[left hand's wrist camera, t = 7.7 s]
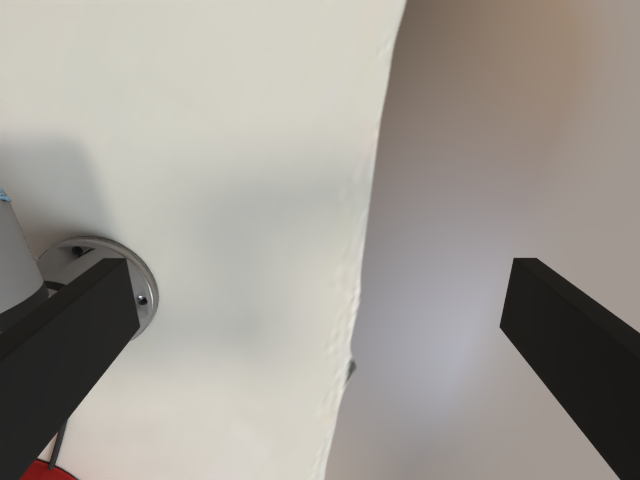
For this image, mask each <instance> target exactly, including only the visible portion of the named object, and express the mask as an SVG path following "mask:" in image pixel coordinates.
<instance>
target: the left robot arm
mask: <svg viewBox="0 0 640 480" xmlns="http://www.w3.org/2000/svg"><path fill="white" fill-rule="evenodd" d="M10 202H11V199H10V197H9V196H8V195H6V194H5V193H4V191H3V189H2V187H1V185H0V480H20V479H21V477H22V476H23V475H24V474H25V472H26V471H27V470H28V469H29V467H30V466H31V465H32V463H33V462H34V461H35V460H36V458H37V457H38V456H39V455H40V453H41V452H42V451H43V450H44V448H45V447H46V446H47V445H48V443H49V442H50V441H51V439H52V438H53V437H54V436H55V434H56V433H57V432H58V434H57V438H56V442H55V446H54V449H53V453H52V456H51V460H50V463H49V466H48V469H49V470H52V469H53V468H54V466H55V463H56V460H57V456H58V453H59V450H60V446H61V443H62V439H63V435H64V431H65V427H66V423H67V419H68V418H69V417H70V415H71V414H72V413H73V412H74V410H75V409H76V408H77V407H78V405H79V404H80V403H81V402H82V400H83V399H84V398H85V397H86V395H87V394H88V393H89V391H90V390H91V389H92V388H93V386H94V385H95V384H96V383H97V381H98V380H99V379H100V378H101V376H102V375H103V374H104V373H105V371H106V370H107V369H108V367H109V366H110V365H111V364H112V362H113V361H114V360H115V359H116V357H117V356H118V355H119V354H120V352H121V351H122V350H123V349H124V347H125V346H126V345H127V343H128V342H129V341H131V340H133V339H135V338H136V337H137V336H139V335H140V334H141V333H142V332H143V331H144V330H145V328H146V327H147V326H148V325H149V323H150V322H151V320H152V319H153V317H154V315H155V313H156V311H157V307H158V289H157V285H156V282H155V280H154V277H153V275H152V274H151V272H150V270H149V269H148V267H147V266H146V265H145V264H144V262H143V261H142V260H141V259H140V258H139V257H138V256H137V255H135V254H134V253H133V252H132V251H130V250H129V249H127V248H126V247H124V246H122V245H120V244H118V243H116V242H113V241H110V240H107V239H104V238H99V237H90V236H85V237H75V238H71V239H68V240H65V241H63V242H61V243H59V244H57V245H56V246H54V247H52V248H50V249H49V250H47V251H46V252H45V253H43V254H42V255H41V256H40V258H39V259H38V260H37V262H35V260H34V257H33V255H32V253H31V251H30V248H29V246H28V244H27V241H26V239H25V237H24V234H23V232H22V230H21V227H20V225H19V223H18V220H17V218H16V216H15V214H14V211H13V209H12V207H11V204H10ZM500 328H501V330H502V331H503V332H504V333H505V335H506V336H507V337H508V338H509V340H510V341H511V342H512V343H513V345H514V346H515V347H516V348H517V350H518V351H519V352H520V354H521V355H522V356H523V357H524V359H525V360H526V361H527V362H528V364H529V365H530V366H531V367H532V369H533V370H534V371H535V372H536V374H537V375H538V376H539V378H540V379H541V380H542V381H543V383H544V384H545V385H546V386H547V388H548V389H549V390H550V391H551V393H552V394H553V395H554V396H555V398H556V399H557V400H558V402H559V403H560V404H561V405H562V407H563V408H564V409H565V410H566V412H567V413H568V414H569V415H570V417H571V418H572V419H573V421H574V422H575V423H576V424H577V426H578V427H579V428H580V429H581V431H582V432H583V433H584V434H585V436H586V437H587V438H588V439H589V441H590V442H591V443H592V444H593V446H594V447H595V448H596V450H597V451H598V452H599V453H600V455H601V456H602V457H603V458H604V460H605V461H606V462H607V463H608V465H609V466H610V467H611V469H612V470H613V471H614V472H615V474H616V475H617V476H618V477H619V479H620V480H640V333H639V332H637V331H636V330H635V329H633V328H632V327H631V326H629V325H628V324H626V323H625V322H624V321H622V320H621V319H620V318H618V317H617V316H615V315H614V314H613V313H611V312H610V311H609V310H607V309H606V308H604V307H603V306H602V305H600V304H599V303H598V302H596V301H595V300H593V299H592V298H591V297H589V296H588V295H587V294H585V293H584V292H582V291H581V290H580V289H578V288H577V287H576V286H574V285H573V284H571V283H570V282H569V281H567V280H566V279H565V278H563V277H562V276H560V275H559V274H558V273H556V272H555V271H554V270H552V269H551V268H550V267H548V266H547V265H545V264H544V263H543V262H541V261H540V260H539V259H537V258H514V259H513V264H512V269H511V274H510V279H509V284H508V288H507V293H506V298H505V303H504V308H503V313H502V317H501V322H500Z"/></svg>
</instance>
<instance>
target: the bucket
mask: <svg viewBox="0 0 640 480" xmlns="http://www.w3.org/2000/svg"><path fill="white" fill-rule="evenodd" d="M48 466H49V464H48V463H45V462H42V461H39V460H35V461H34V462H33V463H32V465H31V466H30V467H29V469H28V470H27V471H26V472H25V474H24V475H23V476H22V477H21V479H20V480H76V479H75V478H73V477H72V476H70V475H69V474H67V473H66V472H64V471H62V470H60V469H59V468H57V467H54V468H53V469H52V470H49V469H48Z"/></svg>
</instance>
